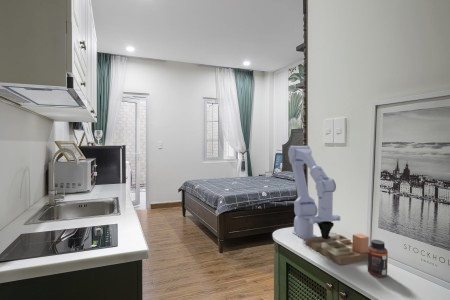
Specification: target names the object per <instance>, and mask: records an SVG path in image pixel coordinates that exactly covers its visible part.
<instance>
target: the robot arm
mask: <svg viewBox="0 0 450 300" xmlns="http://www.w3.org/2000/svg"><path fill="white" fill-rule="evenodd" d="M312 151H313V150H312V149H311V147H310V145H290V147H288V152H287V155H288V161H289V164H290V165H291V168H292V173H293V178H294V179H293V180H294V182H295V183H294V184H295V188H296V193H297V198H296V199H295V200H294V202H293V204H294V205H293V206H294V208H293V211H294V214H295V217H294V219H293V231H292V234H295V235H296V236H298V237H300V238H301V239H303V240H306V238H313V237H318V235H317V234H315V233H314V225H315V224H317V226H318V229H319V230H320V234H321V236H322V238H323V239H328V236H329V233H330V232H331V230H332V228H333V227H334V226H335V225H334V224H335V223H334V222H335V221H336V222H340V221H341V216H340V215H338V214H337V215H335V214H334V215H333V205H334V203H333V200H334V197H333V196H334V195H333V194H334V192H335V191H337V190H336V189H337V184H336V182H335V180H334V179H333V178H331V177H329V176H328V175H327V174H326V172H325V171H324V169H323V168H322V166H319V165H318V164H317V163H316V161H315V159H314V157H313V156H312V153H313V152H312ZM304 164H305V165H306V166H307V167H308V168H309V170H310V171H309V174H310V176H311V178H312V179H313V181H314V183H315V185H314V186H315V190H316V195H317V198H318V202H317V203H315V202H316V201H315V199H314V198H313V197H311V196H310V194H309V190H308V186H307V185H308V184H307V181H306V175H305V171H304V167H303V166H304Z"/></svg>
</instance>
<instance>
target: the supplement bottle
mask: <svg viewBox="0 0 450 300" xmlns="http://www.w3.org/2000/svg"><path fill="white" fill-rule="evenodd" d="M385 244H386V243H385V241H383V240H381V239H372V240H371V241H370V245H369V247H368V260H367V272H368V273H369V275H372V276H374V277H377V278H385V277H388V258H389V255H388V254H389V252H388V249H387V248H386V247H385V246H386V245H385Z"/></svg>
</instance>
